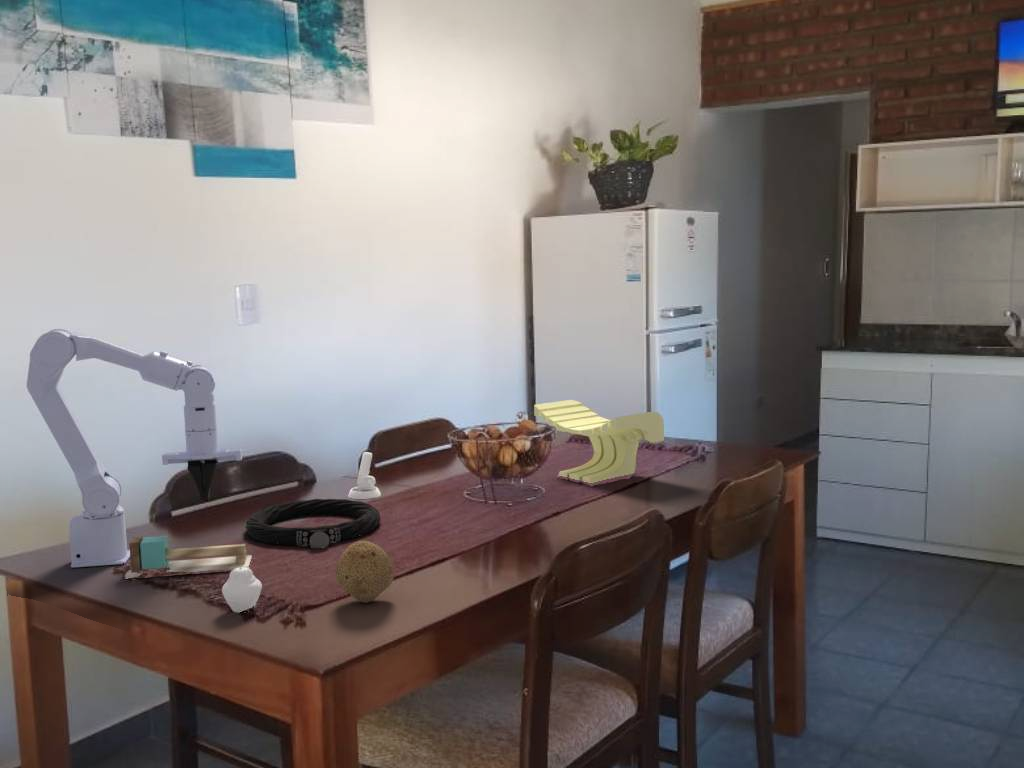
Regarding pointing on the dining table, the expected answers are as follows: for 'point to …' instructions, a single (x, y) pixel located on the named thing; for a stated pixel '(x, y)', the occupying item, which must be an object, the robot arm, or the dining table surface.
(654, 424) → the slatted curved stool
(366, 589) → the natural sponge
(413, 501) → the dining table surface
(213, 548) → the rail
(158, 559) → the slider
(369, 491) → the white joystick
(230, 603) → the white faceted lump
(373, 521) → the cable lock
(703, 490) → the dining table surface
